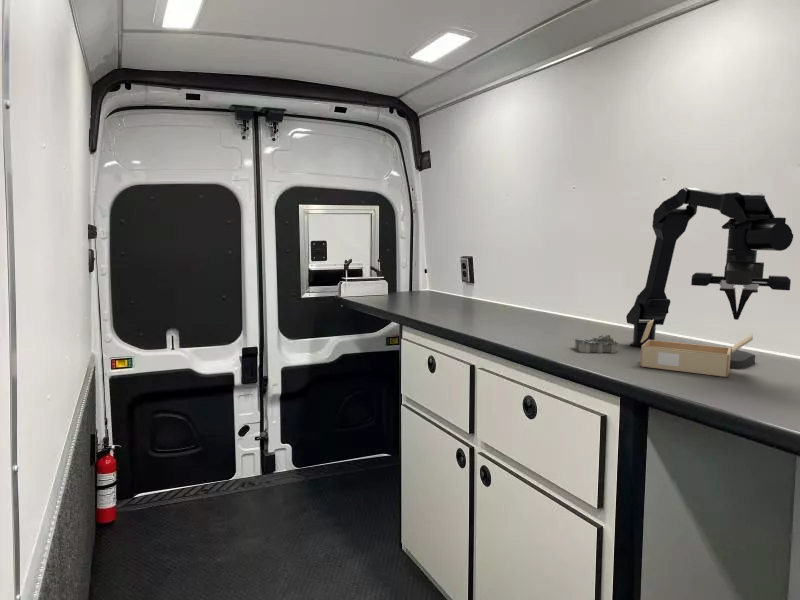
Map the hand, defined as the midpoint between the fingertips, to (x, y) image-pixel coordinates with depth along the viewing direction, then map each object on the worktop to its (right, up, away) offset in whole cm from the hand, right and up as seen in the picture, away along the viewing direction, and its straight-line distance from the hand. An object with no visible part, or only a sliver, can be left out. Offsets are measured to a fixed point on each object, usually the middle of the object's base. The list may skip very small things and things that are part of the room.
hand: (736, 319), depth 128 cm
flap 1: (-16, -6, +11) cm, 20 cm away
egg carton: (-23, -10, +26) cm, 36 cm away
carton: (-8, -12, +6) cm, 16 cm away
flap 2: (0, -7, +1) cm, 7 cm away
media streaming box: (+4, -12, +15) cm, 19 cm away
